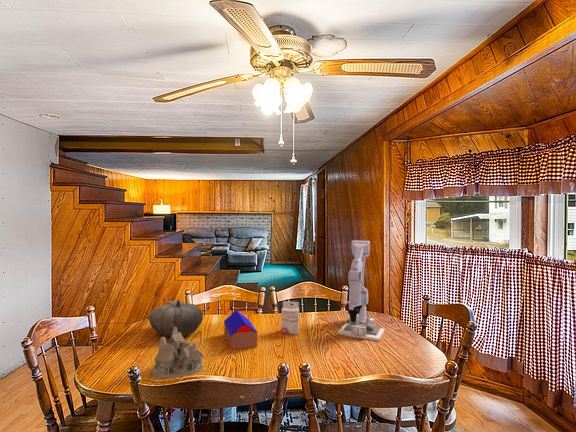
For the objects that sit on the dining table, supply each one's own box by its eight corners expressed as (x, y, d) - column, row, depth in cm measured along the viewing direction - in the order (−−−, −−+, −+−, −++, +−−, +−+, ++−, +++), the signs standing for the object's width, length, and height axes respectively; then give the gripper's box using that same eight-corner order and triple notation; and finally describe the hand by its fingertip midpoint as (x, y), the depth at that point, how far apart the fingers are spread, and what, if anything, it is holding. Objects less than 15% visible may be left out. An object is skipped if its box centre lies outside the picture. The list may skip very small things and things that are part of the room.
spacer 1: (359, 323, 178) (359, 313, 177) (357, 325, 174) (357, 315, 173) (351, 322, 179) (351, 312, 179) (348, 324, 175) (348, 314, 175)
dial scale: (345, 325, 184) (346, 315, 184) (384, 331, 176) (384, 320, 176) (337, 334, 171) (337, 323, 171) (379, 341, 162) (379, 330, 162)
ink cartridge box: (280, 333, 171) (281, 303, 171) (281, 330, 176) (282, 301, 176) (298, 334, 170) (298, 304, 170) (298, 330, 175) (299, 301, 175)
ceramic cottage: (145, 372, 128) (148, 332, 128) (180, 358, 142) (183, 322, 142) (173, 387, 120) (177, 344, 120) (208, 370, 134) (211, 332, 134)
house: (230, 351, 150) (230, 324, 149) (223, 335, 169) (223, 310, 168) (257, 347, 154) (258, 321, 153) (247, 332, 172) (248, 308, 172)
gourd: (143, 339, 153) (148, 299, 156) (149, 330, 177) (153, 295, 180) (201, 340, 160) (205, 302, 163) (199, 331, 184) (203, 297, 186)
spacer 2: (375, 328, 174) (376, 318, 174) (372, 331, 170) (372, 320, 170) (367, 326, 176) (367, 316, 176) (363, 328, 173) (364, 318, 173)
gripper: (350, 290, 184) (350, 315, 185) (343, 296, 171) (342, 323, 172) (364, 291, 181) (363, 317, 182) (357, 297, 168) (356, 325, 169)
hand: (354, 320), depth 176 cm, fingers closed on spacer 1, 4 cm apart
